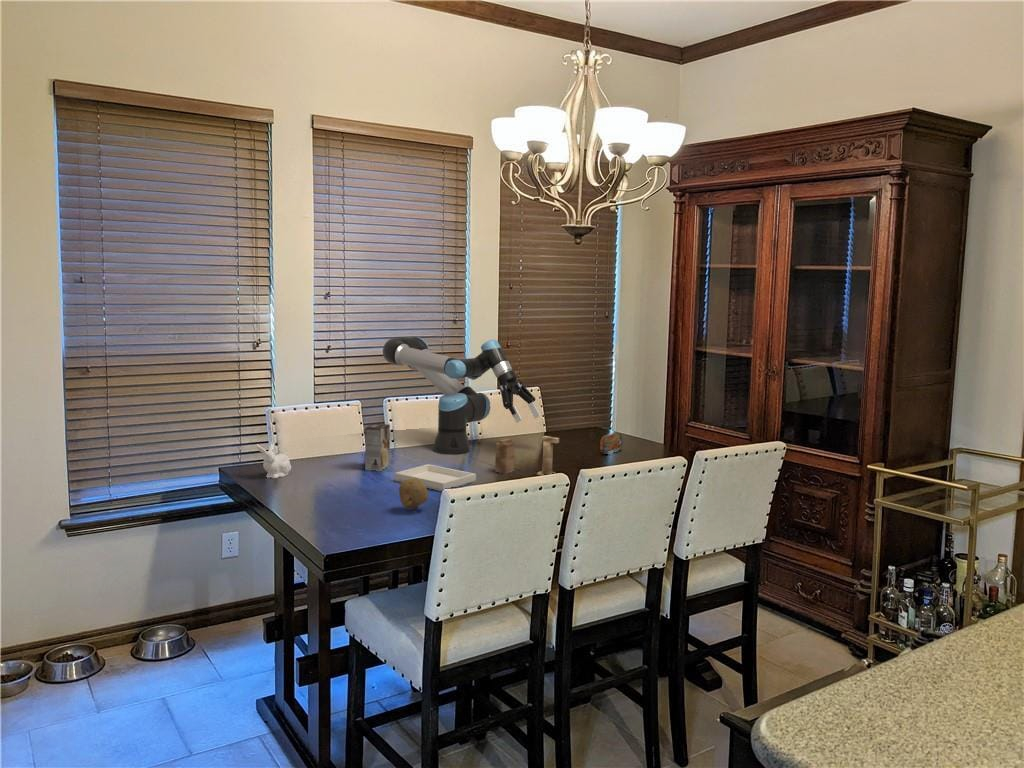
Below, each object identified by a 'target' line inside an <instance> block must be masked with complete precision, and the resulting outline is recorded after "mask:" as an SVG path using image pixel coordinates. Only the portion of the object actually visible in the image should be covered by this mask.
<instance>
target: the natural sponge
mask: <svg viewBox="0 0 1024 768" xmlns="http://www.w3.org/2000/svg"><path fill="white" fill-rule="evenodd" d="M398 493H399V499H400V502H401V505H402V506H403V507H405V508H406V509H407V510H408V511H409V510H410V511H413V509H414V510H415V509H417V508H418V507H419V506H421V505H423V504H424V503H426V502H427V501H428V500H429V499H428V498H429V491H428V489H427V488H426V487H425V485H424V484H423V482H422V481H421V480H419V479H417V478H411V479H406V480H404V481H403V482H402V483H401V482H400V485H399V487H398Z"/></svg>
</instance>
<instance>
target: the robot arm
mask: <svg viewBox="0 0 1024 768" xmlns="http://www.w3.org/2000/svg"><path fill="white" fill-rule="evenodd" d="M480 349H481V352H480V353H479V354H478V355H477V356H475V357H472V358H471V357H470V358H456V357H452V356H447V355H443V354H440V353H439V354H438V353H434V352H431V351H430V348H429V345H428V342H427V341H426V340H425V339H423V338H422V337H420V336H413V335H412V336H407V337H405V336H404V337H393V338H390V339H388V340H387V341H386V342H385V343H384V345H383V347H382V356H383V358H384V359H385V361H386V362H387V363H389V364H391V365H396V366H400V367H403V366H405V365H406V366H407V367H408V368H410V370H411V371H418V372H419V374H421V375H422V376H423V377H424V378H426V380H428V382H430V384H431V385H432V386H434V388H436V389H437V390H438V391H440V393H441V394H443V395H441V396H440V397H439V400H438V423H437V424H438V425H437V427H438V428H437V430H438V431H437V434H436V437H435V440H434V443H433V451H434V452H435V453H439V454H443V453H444V454H445V455H448V454H449V455H461V454H460V453H463V454H466V452H467V453H470V451H471V445H470V442H469V438H468V434H467V424H469V423H474V422H480V421H481V420H482V421H483V420H484V419H486V418H487V417H488V416H489V414H490V413H491V401H490V399H489V397H488V395H486V394H485V393H482V392H476V391H475V390H474V389H473V388H472V387H471V386H468V385H465V386H464V384H462V383H461V382H460V381H459V379H462V378H468V379H470V380H472V381H473V380H474V381H475V380H477V379H479V378H481V377H482V376H483V375H484V374H485V373H486V372H487V371H489V370H490V369H491V370H492V371H493V374H494V376H495V378H497V382H498V383H499V385H500V386H499V387H498V388H499V391H500V395H501V399H502V400H501V401H502V404H503V405H502V406H503V408H504V409H505V410H509V411H510V413H511V415H512V417H513V419H514V421H515V423H516V424H518V423H519V422H520V421H523V418H522V417H521V415H520V412H519V411H518V408H517V407H516V405H514V395H516V396H518V397H520V398H521V399H522V400H523V401H524V402H526V403H527V407H528V408H529V410H530V413H531V414H532V416H533V417H534V419H537V418H539V417H540V416H541V413H540V412H539V410H538V408H537V406H536V404H535V402H536V397H535V396H534V395H533V394H532V393H531V392H530V391H529V389H528V388H527V387H526V386H525V385H524V384H523V381H519V382H518V381H517V379H518V376H517V375H516V373H515V372H514V370H513V368H512V366H511V364H510V361H509V360H508V358H507V357H506V354H505V353H504V350H503V349H502V347H501V345H500V343H499V341H498V340H497V339H495V338H494V339H489V340H487V341H485V342H484V343H482V344H481V346H480Z"/></svg>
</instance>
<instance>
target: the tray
mask: <svg viewBox="0 0 1024 768" xmlns="http://www.w3.org/2000/svg"><path fill="white" fill-rule="evenodd" d="M411 478H417V479H419V480H421V481H422V482H423V484H424V485H425V487H426V489H427V488H430V489H429V490H431V489H434V490H433V491H436V490H437V491H436V492H441V491H442V490H443V489H445V488H451V487H459V486H462V487H465V486H464V484H466V483H470V482H475V481H476V482H477V474H476V473H473V472H469V471H463V470H459V469H453V468H449V467H443V466H439V465H434V464H430V463H429V464H428V463H427V464H424V465H420V466H416V467H412V468H407V469H405V470H400V471H396V472H394V482H396V481H398V482H397V483H401V482H403V481H404V480H406V479H411ZM476 482H475V483H476ZM459 488H460V487H459ZM441 493H442V492H441Z"/></svg>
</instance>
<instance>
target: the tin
mask: <svg viewBox="0 0 1024 768" xmlns="http://www.w3.org/2000/svg"><path fill="white" fill-rule="evenodd" d="M622 446H623V437H622V435H621V434H620V433H619V432H612V433H609V434H606V435H604V434H603V436H602V437H601V439H600V441H599V451H600V453H601V452H604V453H606V452H608V451H611V450H614V449H617V448H620V447H621V448H622Z"/></svg>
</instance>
